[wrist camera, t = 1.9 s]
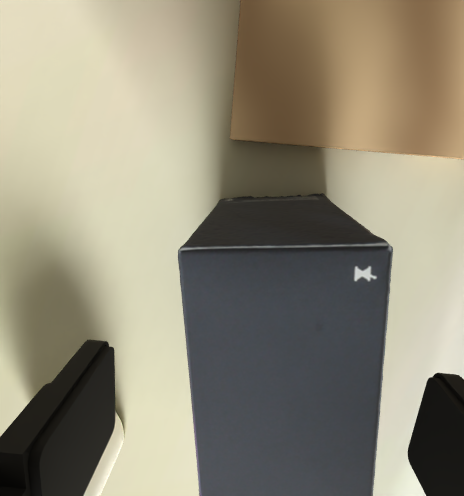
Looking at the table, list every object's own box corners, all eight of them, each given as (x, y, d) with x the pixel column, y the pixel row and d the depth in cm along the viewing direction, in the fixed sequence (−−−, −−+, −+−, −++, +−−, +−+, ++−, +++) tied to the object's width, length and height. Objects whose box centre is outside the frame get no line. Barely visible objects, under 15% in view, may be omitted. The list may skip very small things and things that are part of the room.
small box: (211, 196, 20) (164, 241, 10) (328, 192, 19) (406, 234, 9) (221, 360, 23) (193, 528, 12) (324, 360, 22) (381, 535, 12)
